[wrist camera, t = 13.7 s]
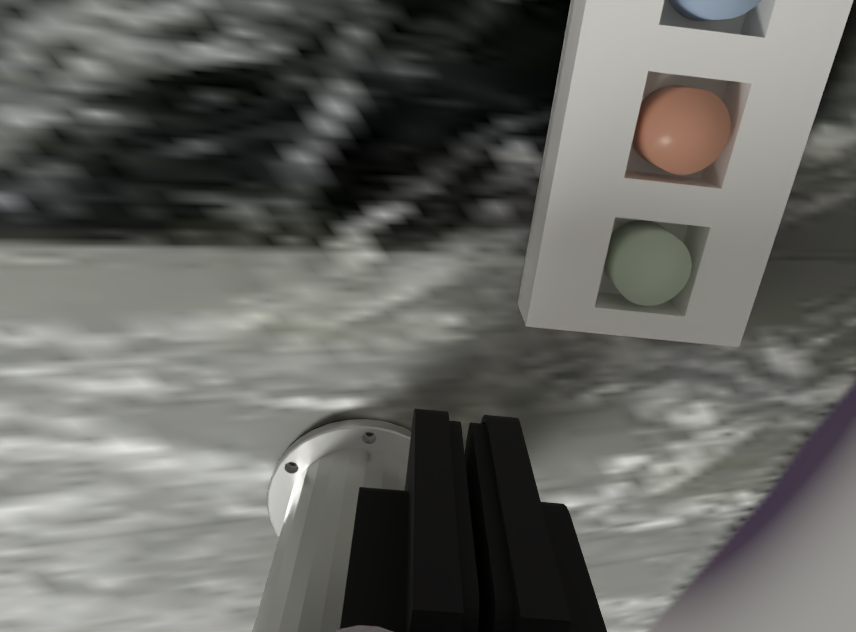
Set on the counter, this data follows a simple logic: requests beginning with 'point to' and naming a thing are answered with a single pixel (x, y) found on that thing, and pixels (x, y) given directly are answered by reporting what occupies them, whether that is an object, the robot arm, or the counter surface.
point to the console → (663, 191)
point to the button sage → (647, 263)
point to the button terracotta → (681, 129)
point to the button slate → (712, 8)
